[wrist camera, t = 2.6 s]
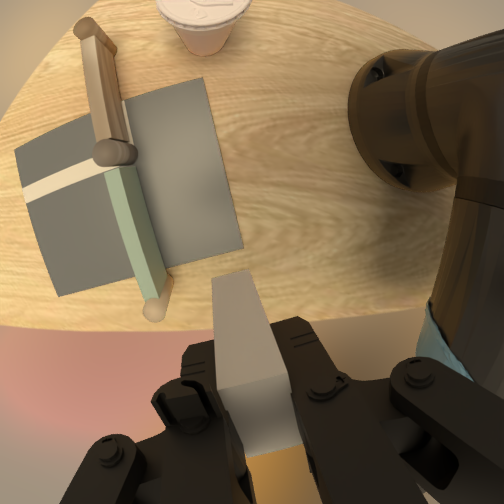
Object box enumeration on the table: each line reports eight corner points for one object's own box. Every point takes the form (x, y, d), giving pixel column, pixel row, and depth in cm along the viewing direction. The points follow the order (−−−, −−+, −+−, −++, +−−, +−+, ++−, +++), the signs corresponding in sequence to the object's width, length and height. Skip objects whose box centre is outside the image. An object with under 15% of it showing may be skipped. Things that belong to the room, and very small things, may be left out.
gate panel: (120, 171, 25) (97, 174, 19) (139, 165, 25) (120, 166, 19) (158, 293, 28) (147, 324, 23) (176, 288, 29) (168, 319, 23)
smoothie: (207, 82, 24) (206, 12, 11) (155, 45, 22) (117, -37, 9) (254, 36, 23) (291, -50, 10) (202, 1, 22) (203, -93, 8)
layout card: (202, 78, 24) (202, 77, 24) (243, 247, 29) (243, 248, 28) (15, 149, 23) (13, 149, 22) (59, 295, 28) (58, 297, 27)
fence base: (116, 40, 22) (94, 13, 15) (141, 161, 25) (120, 161, 19) (97, 48, 21) (71, 23, 15) (120, 168, 25) (95, 170, 19)
